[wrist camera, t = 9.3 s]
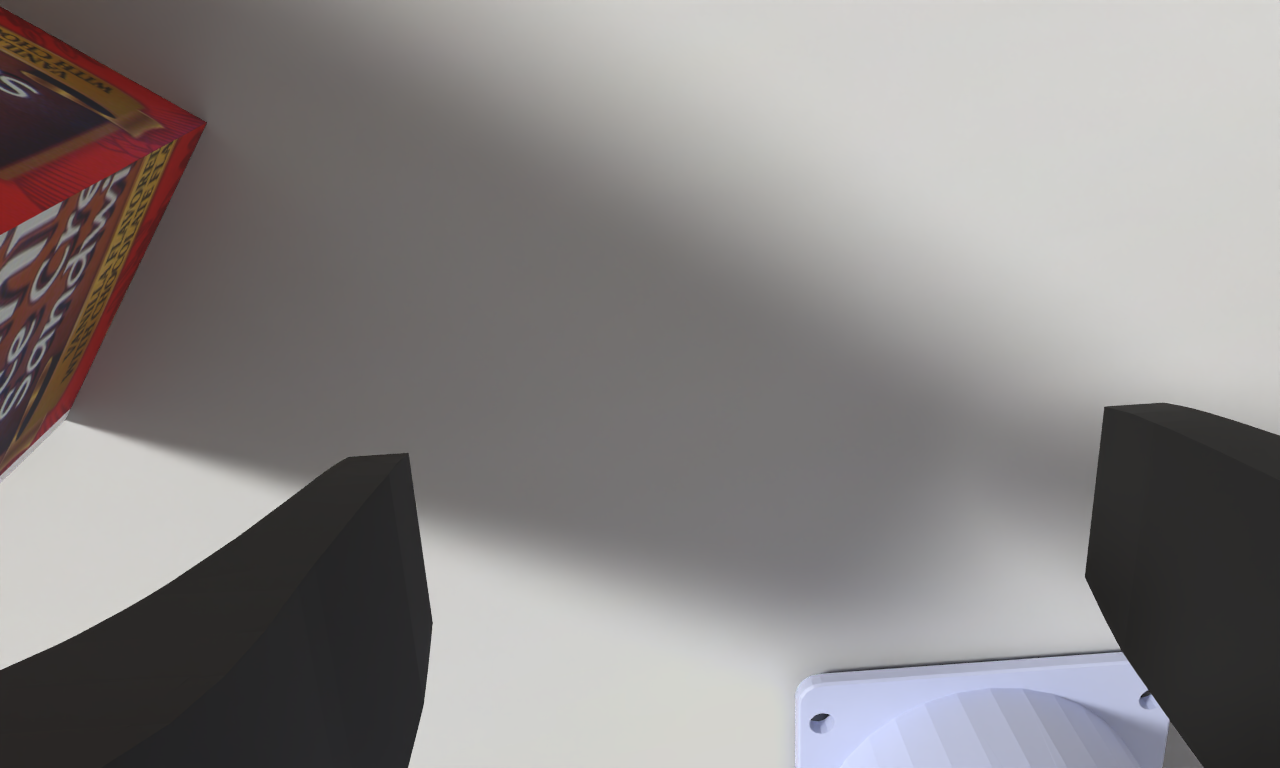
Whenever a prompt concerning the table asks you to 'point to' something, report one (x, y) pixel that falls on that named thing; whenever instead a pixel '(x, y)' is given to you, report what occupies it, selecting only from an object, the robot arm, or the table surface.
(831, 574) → the table surface
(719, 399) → the table surface
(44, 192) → the ice cream box
